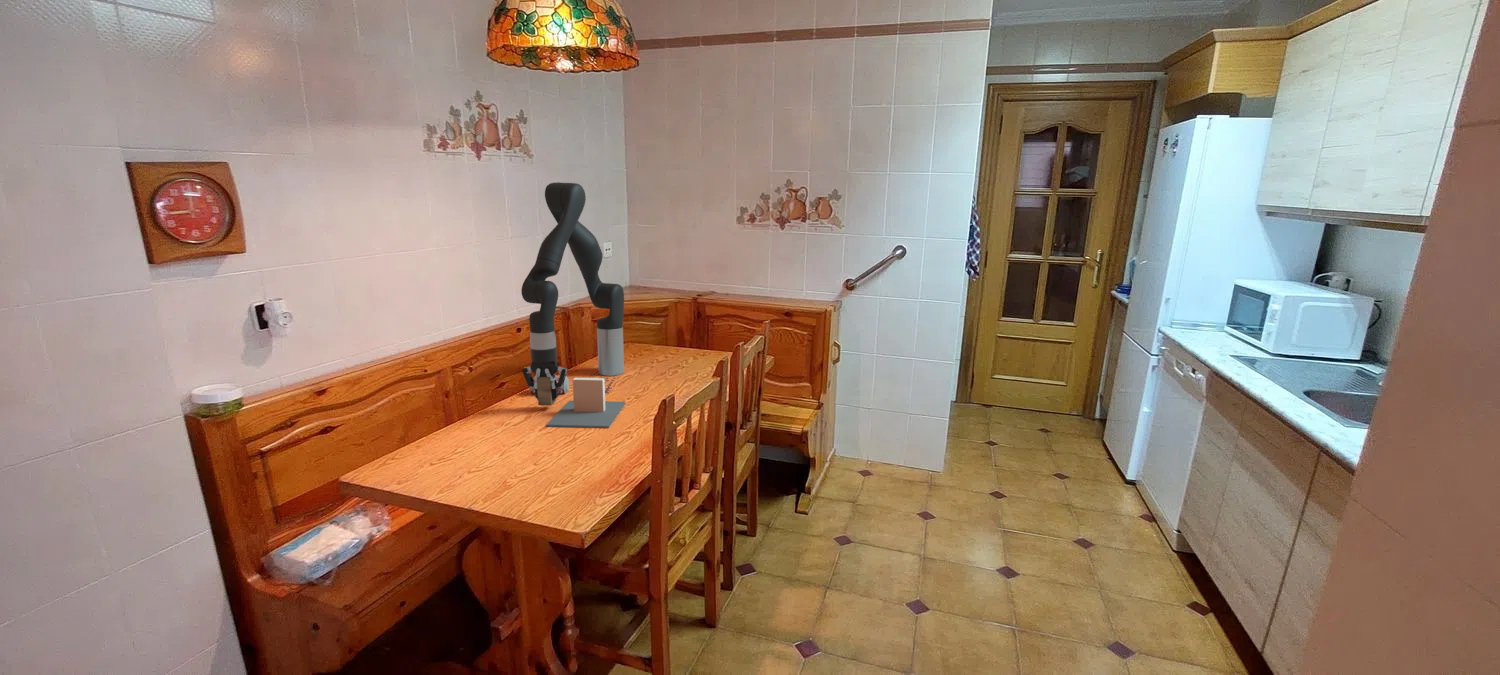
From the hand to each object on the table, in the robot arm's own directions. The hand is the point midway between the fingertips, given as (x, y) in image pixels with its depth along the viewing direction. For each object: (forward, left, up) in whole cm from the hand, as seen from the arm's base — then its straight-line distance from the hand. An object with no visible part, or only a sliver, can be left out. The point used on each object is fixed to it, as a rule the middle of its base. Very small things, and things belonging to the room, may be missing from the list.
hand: (546, 399), depth 187 cm
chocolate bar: (-25, +11, -4) cm, 27 cm away
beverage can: (-16, +2, 0) cm, 16 cm away
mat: (+4, +14, -3) cm, 15 cm away
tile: (+2, +14, -3) cm, 14 cm away
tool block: (0, 0, -1) cm, 1 cm away
